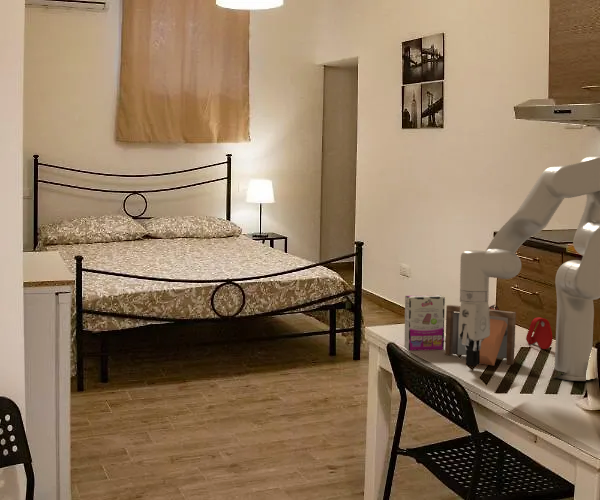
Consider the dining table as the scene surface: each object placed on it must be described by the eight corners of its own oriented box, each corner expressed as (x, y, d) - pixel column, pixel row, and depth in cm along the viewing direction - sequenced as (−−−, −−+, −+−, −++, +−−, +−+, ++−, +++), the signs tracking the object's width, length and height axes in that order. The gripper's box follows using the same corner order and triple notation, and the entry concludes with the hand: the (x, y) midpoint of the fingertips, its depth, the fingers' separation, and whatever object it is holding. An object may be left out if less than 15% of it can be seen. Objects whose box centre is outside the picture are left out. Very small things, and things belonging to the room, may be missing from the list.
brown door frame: (513, 363, 234) (515, 312, 233) (510, 364, 233) (512, 313, 232) (448, 353, 247) (449, 304, 246) (444, 354, 246) (446, 305, 244)
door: (510, 358, 240) (512, 316, 239) (509, 359, 237) (511, 317, 236) (452, 353, 246) (454, 312, 245) (450, 354, 243) (452, 313, 242)
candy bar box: (438, 348, 256) (439, 294, 255) (444, 351, 251) (445, 296, 250) (403, 348, 254) (404, 294, 252) (408, 352, 249) (409, 297, 247)
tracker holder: (555, 352, 252) (556, 319, 251) (542, 353, 251) (543, 320, 250) (533, 345, 264) (534, 313, 263) (520, 345, 262) (522, 313, 262)
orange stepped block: (507, 325, 237) (501, 315, 233) (493, 365, 231) (487, 356, 228) (491, 322, 240) (484, 313, 236) (477, 363, 235) (470, 353, 231)
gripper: (474, 301, 216) (472, 371, 217) (499, 295, 228) (497, 362, 229) (448, 298, 221) (446, 367, 222) (474, 292, 232) (472, 358, 234)
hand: (472, 364), depth 226 cm, fingers closed
